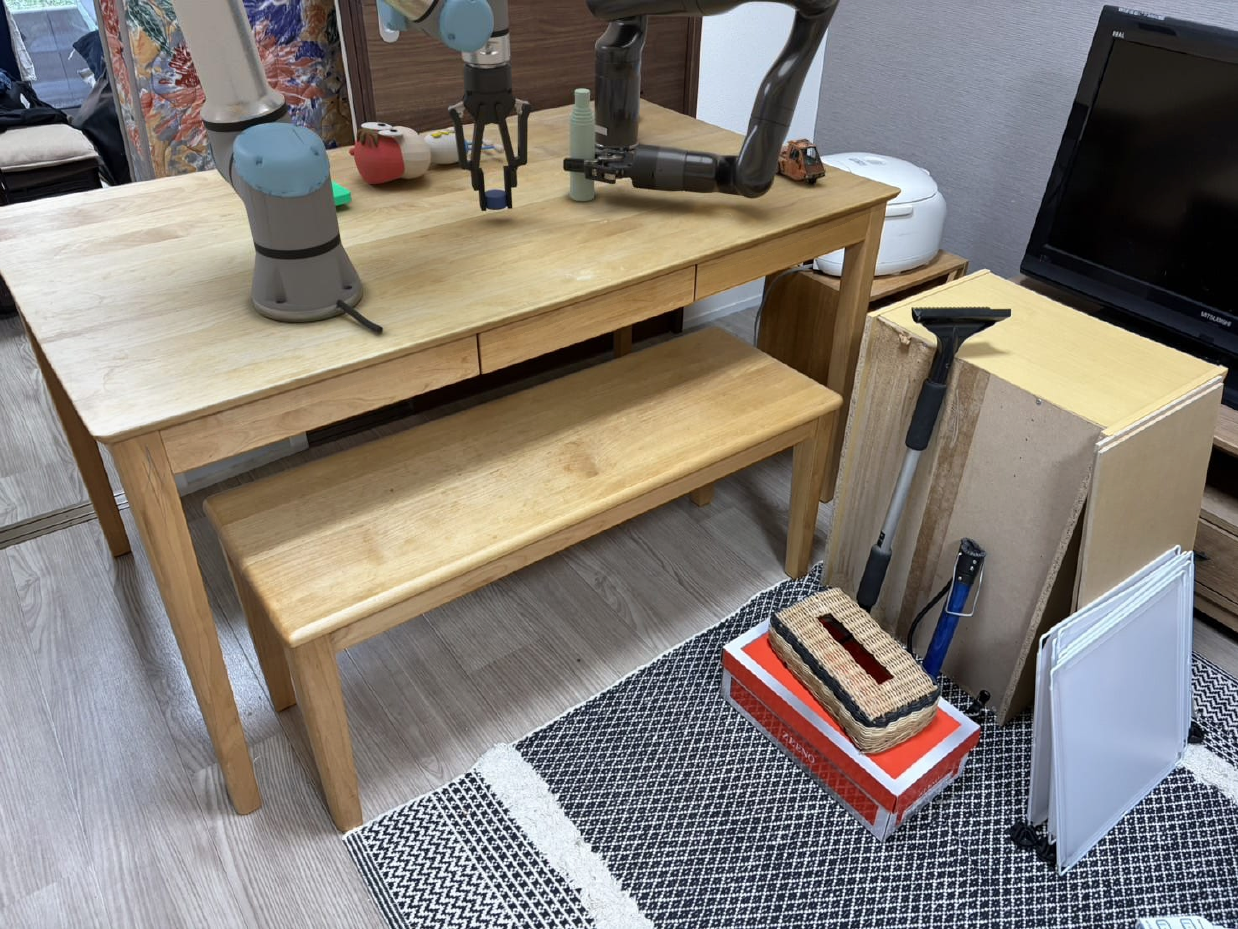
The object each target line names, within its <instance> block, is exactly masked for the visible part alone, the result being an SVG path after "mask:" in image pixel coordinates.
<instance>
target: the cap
mask: <svg viewBox="0 0 1238 929" xmlns="http://www.w3.org/2000/svg"><path fill="white" fill-rule="evenodd" d="M485 198H486V210H490V211H500V210H504V209H507V196H506V192H505V190H504V189H503V190H502V189H495V188H494V189H489V190H488V189H487V190H485Z"/></svg>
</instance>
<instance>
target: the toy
mask: <svg viewBox="0 0 1238 929" xmlns="http://www.w3.org/2000/svg"><path fill="white" fill-rule="evenodd" d="M360 127H361V128H359V129H358V130H357V131H356V136H355V138H356V140H355V143H354V147H351V148H350V149H349V150H348V153H349V155H350V156H353V159H354V163H355V166H356V168H357V171H358V173H359V175H360V176H361V178H362V180H363V181H364V182H365V183H367V184H370V185H377V184H383V183H388V182H391V181H394V180H398V179H400V178H401V179H406V180H410V179H416V178H419V177H421V176H422V175H424V174H425V173H426V172H427V170H428V169H429V168H430V164H431V163H435V164H439V165H449V164H454V163H457V162H458V163H459V161H458V153H457V146H456V139H455V132H454V126H450V127H447V128H444V129H441V130H437V131H433V132H429V133H427V134H426V135H425V136H422V135H421V133H420V132H419V131H418V130H416V129H413V128H410V127H407V126H406V125H403V126H401V125H396V126H392V125H390V124H388V123H384V122H377V121H376V122H373V121H371V122H364V123H362V124H361V125H360ZM464 140H465V148H466V155H467V156H468V153H469V151H471V148H472V141H469V142H468V141H467V140H466V139H465V137H464ZM469 146H470V147H469ZM492 149H493V150H494V151H495V152H497V153H498V154H503V153H505V151H504V147H503V144H499V143H493V141H492V140H490V139H485V138H484V139H483V140H482V149H481V151H483V150H484V151H485V150H492ZM467 160H470V158H467Z"/></svg>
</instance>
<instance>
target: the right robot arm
mask: <svg viewBox="0 0 1238 929" xmlns="http://www.w3.org/2000/svg"><path fill="white" fill-rule="evenodd" d="M840 2H841V0H585V4H586V7H587V9H588V11H589V12H590V14H591V15H592V16H594V17H595V18H596V19H597V20H600V21H601V22H605V23H609V24H608V26H607V28H606V30H605V32H604V33H603V34H602V35H601V36H600V37H599V38H598V39H597V40H596V42H595V44H594V105H593V106H594V111H593V116H594V120H595V159H586V160H584V159H576V158H570V157H565V158H563V161H562V169H563V171H565V172H568V173H570V172H579V173H584V175H585V178H586V179H590V180H594V182H599V183H605V184H608V185H615V184H616V183H617V180H623V179H630V180H631V185H632V187H633V188H634V189H638V190H639V189H640V190H649V191H660V192H670V193H673V192H674V193H675V192H685V193H695V194H696V193H697V194H714V193H715V194H724V195H732V196H739V197H744V198H746V199H751V200H753V199H754V200H755V199H759V198H762V197H764V196H765V195H766V194H767V193H768V192H770V191H771V189H772V187H773V185H774V182H775V177H776V176H775V175H776V174H775V172H776V168H777V164H778V160H779V157H780V153H781V148H782V146H784V143H785V141H786V139H787V136H788V135H789V132H790V128H791V126H792V125H791V124H792V121H793V118H794V114H795V111H796V108H797V105H798V103H799V99H800V95H801V92H802V89H803V86H804V84H805V80H806V78H807V76H808V73H809V70H810V68H811V66H812V65H813V64H812V63H813V61H814V59H815V57H816V55H817V53H818V50H819V48H820V45H821V44H822V41H823V40H824V37H825V34H826V33H827V30H828V28H829V26H830V24H831V22H832V19H833V18H834V15H835V14H836V11H837V9H838V6H839V4H840ZM749 3H773V4H774V3H775V4H782V5H785V6H788V7H789V8H792V9H793V10H795V11H794V14H793V15H794V16H793V22H792V25H791V29H790V32H789V34H788V37H787V39H786V41H785V44H784V46H783V48H782V50H781V51H780V52H779V54H778V56H777V58H775V60H774V61H773V63H772V64H771V66H770V67H769V69H768V70H767V72H766V73H765V75H764V76H763V77H762V78H763V79H762V80H761V82H760V84H759V87H758V88H757V92H756V95H755V99H754V101H753V105H752V109H751V113H750V117H749V121H748V125H747V129H746V134H745V137H744V140H743V143H742V145H741V148H740V150H739V153H738V155H737V154H736V155H734V154H733V155H731V154H730V155H729V154H719V153H715V152H710V151H703V150H693V149H686V148H685V149H684V148H680V147H675V146H665V145H655V144H644V143H643V144H642V143H639V129H640V128H639V127H640V104H641V103H640V102H641V100H640V99H641V95H644V94H645V93H644V92H645V91H644V90H643V89H642V88H641V78H642V77H641V75H642V74H641V73H642V71H641V70H642V51H643V48H644V46H645V43H646V39H647V32H648V20H649V16H655V17H667V18H668V17H669V18H670V17H671V18H703V17H704V18H705V17H716V16H717V17H718V16H721V15H725V14H728V13H730V12H732V11H733V10H735V9H737V8H739V7H740V6H742V5H745V4H749ZM631 150H634V151H633V152H631ZM592 169H595V170H592Z"/></svg>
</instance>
